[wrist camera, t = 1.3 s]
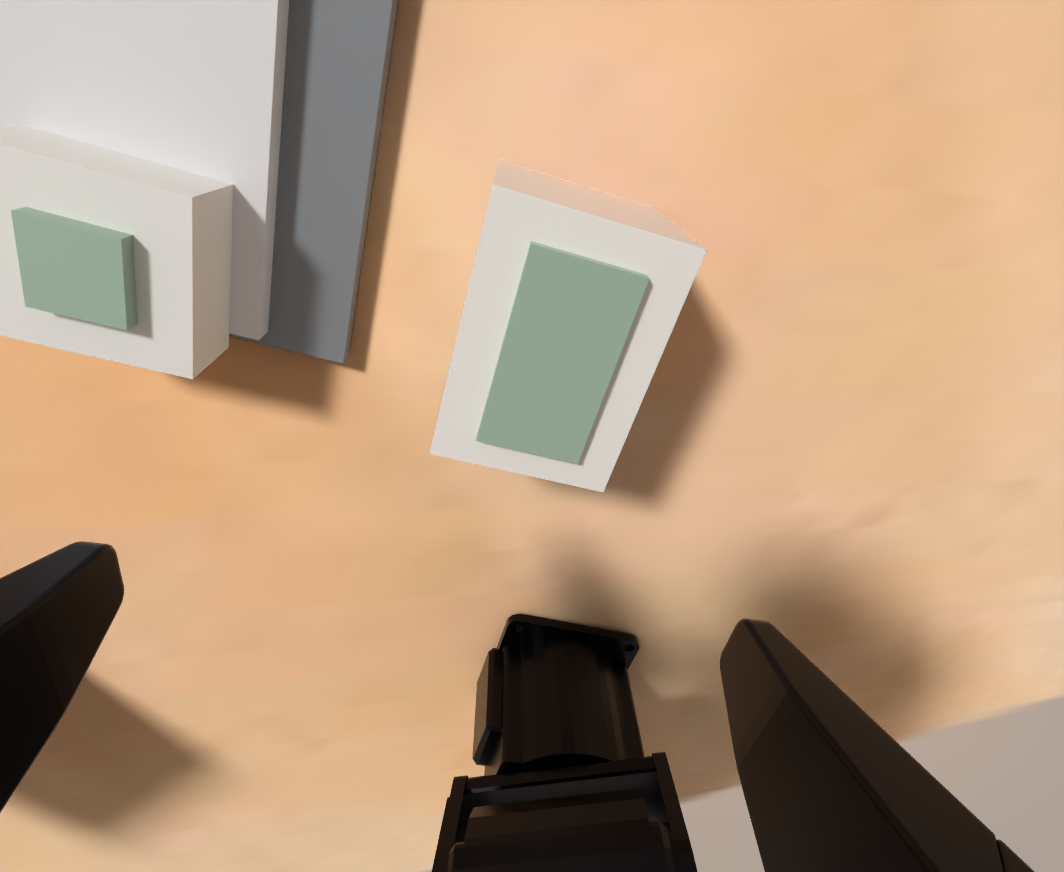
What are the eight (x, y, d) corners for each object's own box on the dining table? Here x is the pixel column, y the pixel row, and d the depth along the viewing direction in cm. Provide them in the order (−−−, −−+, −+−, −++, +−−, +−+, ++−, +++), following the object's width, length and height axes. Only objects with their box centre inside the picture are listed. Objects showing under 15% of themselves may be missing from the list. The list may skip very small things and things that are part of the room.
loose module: (651, 206, 18) (711, 252, 13) (581, 397, 22) (604, 498, 16) (498, 158, 18) (492, 186, 12) (449, 365, 21) (427, 460, 15)
